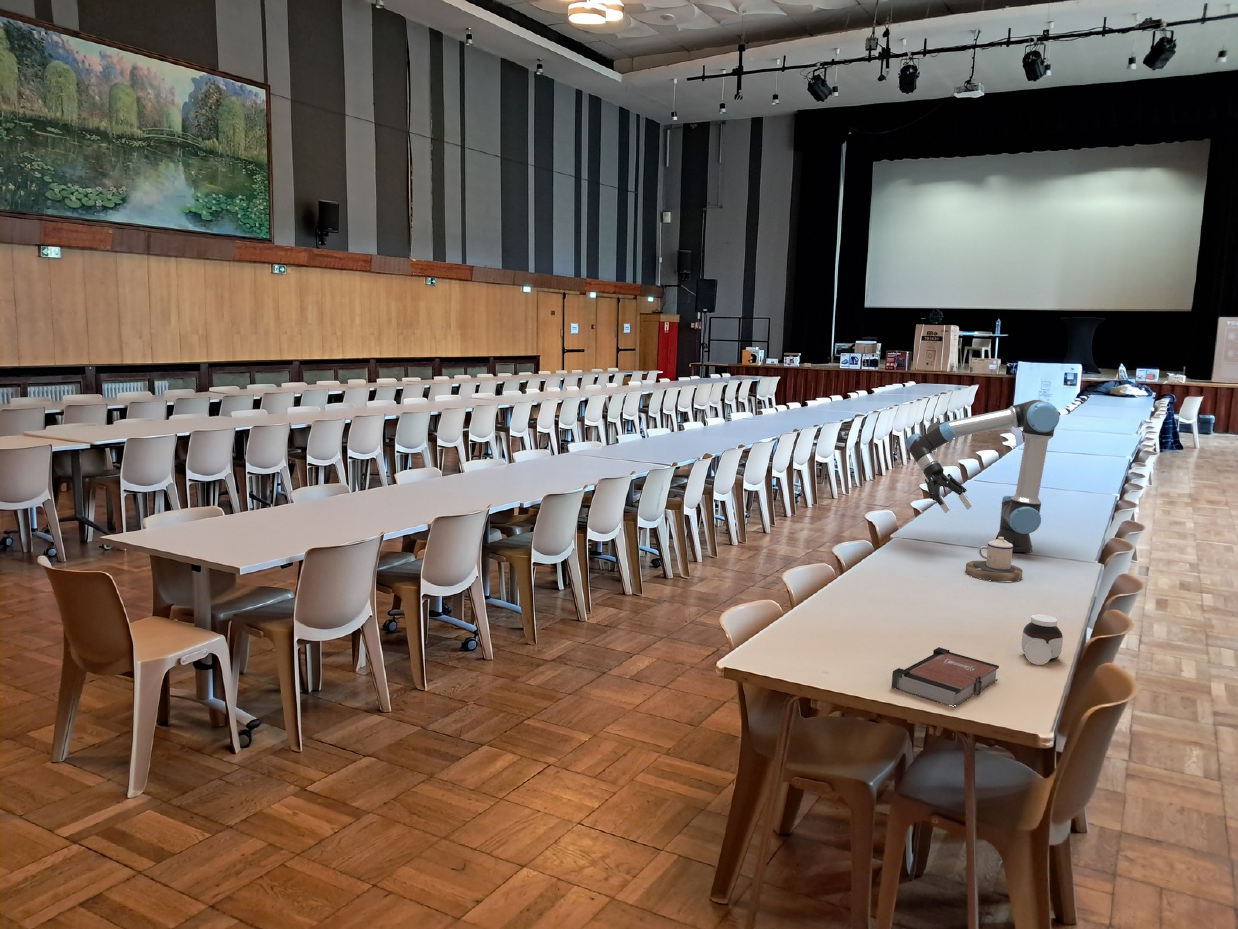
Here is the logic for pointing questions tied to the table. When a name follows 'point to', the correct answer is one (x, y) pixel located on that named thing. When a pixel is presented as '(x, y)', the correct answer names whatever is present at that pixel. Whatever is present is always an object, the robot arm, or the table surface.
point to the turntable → (992, 572)
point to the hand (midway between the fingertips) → (958, 509)
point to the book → (945, 677)
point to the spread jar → (1042, 639)
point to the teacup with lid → (998, 554)
